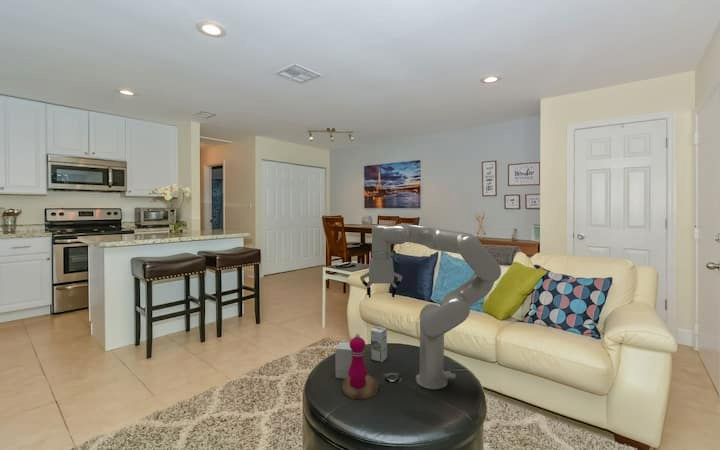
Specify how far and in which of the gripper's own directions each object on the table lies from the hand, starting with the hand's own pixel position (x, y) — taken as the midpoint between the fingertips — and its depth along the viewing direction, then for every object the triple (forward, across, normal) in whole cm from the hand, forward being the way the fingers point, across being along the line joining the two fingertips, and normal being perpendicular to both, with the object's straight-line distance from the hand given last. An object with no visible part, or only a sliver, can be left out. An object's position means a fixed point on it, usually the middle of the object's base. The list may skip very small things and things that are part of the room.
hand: (381, 296), depth 146 cm
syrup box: (+34, 0, -17) cm, 38 cm away
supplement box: (+35, +15, -3) cm, 38 cm away
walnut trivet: (+34, +9, +9) cm, 37 cm away
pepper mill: (+32, +10, +10) cm, 35 cm away
